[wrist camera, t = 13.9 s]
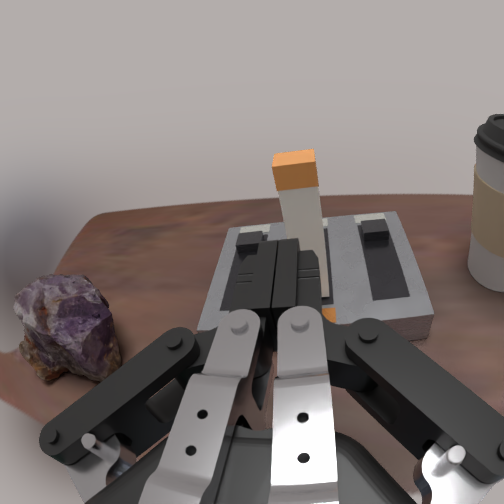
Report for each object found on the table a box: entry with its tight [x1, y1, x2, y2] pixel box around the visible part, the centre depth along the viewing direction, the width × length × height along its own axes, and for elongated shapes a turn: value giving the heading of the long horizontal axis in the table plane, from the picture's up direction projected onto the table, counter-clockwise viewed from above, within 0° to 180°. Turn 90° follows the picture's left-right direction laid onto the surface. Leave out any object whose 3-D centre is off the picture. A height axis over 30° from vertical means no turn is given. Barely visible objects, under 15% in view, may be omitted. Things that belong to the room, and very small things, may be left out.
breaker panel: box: [197, 211, 434, 352], centre depth 28 cm, size 18×14×4 cm
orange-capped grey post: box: [272, 149, 329, 297], centre depth 22 cm, size 2×2×11 cm
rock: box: [13, 274, 121, 382], centre depth 26 cm, size 12×9×10 cm
